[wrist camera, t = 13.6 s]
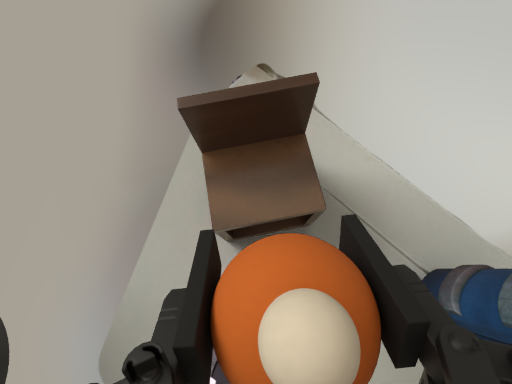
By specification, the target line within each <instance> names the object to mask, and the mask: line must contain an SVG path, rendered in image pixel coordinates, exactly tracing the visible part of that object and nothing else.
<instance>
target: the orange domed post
mask: <svg viewBox="0 0 512 384" xmlns="http://www.w3.org/2000/svg"><path fill="white" fill-rule="evenodd" d="M210 326H211V338H212V343H213V348H214V351H215V355H216V358H217V361H218V363H219V365H220V367H221V369H222V372H223V373H224V375H225V376H226V378H227V380H228V381H229V383H230V384H368V382H369V381H370V379H371V377H372V375H373V372H374V370H375V367H376V365H377V361H378V357H379V353H380V345H381V323H380V315H379V311H378V307H377V303H376V300H375V298H374V295H373V292H372V290H371V288H370V286H369V284H368V282H367V280H366V279H365V277H364V276H363V274H362V273H361V271H360V270H359V269H358V267H357V266H356V265H355V264H354V263H353V261H352V260H350V259H349V258H348V257H347V256H346V255H345V254H344V253H343V252H341V251H340V250H339V249H337V248H336V247H334V246H332V245H331V244H329V243H327V242H325V241H323V240H320V239H318V238H315V237H312V236H308V235H303V234H296V233H284V234H277V235H272V236H269V237H265V238H263V239H260V240H258V241H256V242H254V243H252V244H251V245H249V246H247V247H246V248H245V249H244V250H242V251H241V252H240V253H239V254H238V255H237V256H236V257H235V258H234V259H233V260H232V261H231V262H230V264H229V265H228V266H227V267H226V269H225V271H224V272H223V274H222V276H221V278H220V280H219V282H218V284H217V287H216V290H215V293H214V296H213V301H212V307H211V319H210Z"/></svg>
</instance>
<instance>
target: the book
mask: <svg viewBox="0 0 512 384" xmlns="http://www.w3.org/2000/svg"><path fill="white" fill-rule="evenodd" d="M422 282H423V284H425V285H426V287H427V288H428V289H429V292H431V293H432V294H433V295H434V297H435V298H436V299H437V300H438V302H439V303H440V304H441V305H442V307H443V308H444V309H445V310H446V312H447V313H448V314H449V315H450V317H451V318H452V319H453V320H454V322H455V323H456V324H457V325H458V326H461V327H464V328H466V329H468V330H469V331H471V332H473V333H474V334H475V335H476V336H477V337H478V338H480V339H483V340H486V341H491V342H496V343H502V344H507V345H512V269H494V268H492V267H490V266H488V265H462V266H459V267H456V268H455V269H436V270H433V271H432V272H430V273H429V274H427V275H426V276H425V277H424V279H423V280H422Z"/></svg>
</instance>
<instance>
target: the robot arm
mask: <svg viewBox="0 0 512 384" xmlns="http://www.w3.org/2000/svg"><path fill="white" fill-rule="evenodd" d="M339 250H340V251H341V252H343V253H344V254H345V255H346V256H347V257H348V258H349V259H350V260H352V261H353V263H354V264H355V265H356V266H357V267H358V269H359V270H360V271H361V273H362V274H363V276H364V277H365V279H366V280H367V282H368V284H369V286H370V288H371V290H372V292H373V295H374V298H375V300H376V303H377V307H378V311H379V315H380V323H381V340H382V342H383V344H384V346H385V348H386V350H387V352H388V354H389V356H390V358H391V360H392V362H393V364H394V366H395V368H406V367H415V366H416V363H417V360H418V358H419V360H420V362H421V363H422V365H423V367H424V371H423V374H422V376H421V379H420V381H419V384H512V345H507V344H502V343H496V342H491V341H486V340H483V339H480V338H478V337H477V336H476V335H475V334H474V333H473V332H471V331H469V330H468V329H466V328H464V327H461V326H458V325H457V324H456V323H455V322H454V320H453V319H452V318H451V317H450V315H449V314H448V313H447V312H446V310H445V309H444V308H443V307H442V305H441V304H440V303H439V302H438V300H437V299H436V298H435V297H434V295H433V294H432V293H431V292H429V289H428V288H427V287H426V285H425V284H423V282H422V280H421V279H420V278H419V277H418V275H417V274H416V273H415V272H414V271H412V270H411V269H410V268H408V267H407V266H405V265H395V266H392V265H391V264H390V263H389V261H388V260H387V258H386V257H385V256H384V254H383V253H382V251H381V250H380V249H379V247H378V246H377V244H376V243H375V242H374V240H373V239H372V237H371V236H370V234H369V233H368V232H367V230H366V229H365V227H364V226H363V225H362V223H361V222H360V220H359V219H358V218H357V216H356V215H355V214H354V215H344V216H342V219H341V232H340V245H339ZM221 266H222V265H221V260H220V256H219V251H218V246H217V242H216V237H215V232H214V229H212V230H203V231H200V235H199V239H198V243H197V247H196V251H195V256H194V260H193V264H192V268H191V272H190V276H189V281H188V285H187V288H183V289H173V290H171V291H170V293H169V294H168V295H167V296H166V298H165V299H164V302H163V305H162V308H161V312H160V314H159V317H158V321H157V324H156V327H155V330H154V333H153V336H152V339H151V341H150V342H146V343H142V344H141V345H139V346H137V347H136V348H134V349H133V350H132V351H131V352H130V353H129V354H128V356H127V358H126V359H125V361H124V363H123V367H122V372H123V374H124V376H125V377H126V378H125V379H123V380H120V381H118V382H116V383H114V384H210V376H211V366H212V356H213V343H212V338H211V326H210V319H211V307H212V301H213V296H214V293H215V290H216V287H217V284H218V282H219V280H220V276H221ZM90 384H98V383H90Z"/></svg>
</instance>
